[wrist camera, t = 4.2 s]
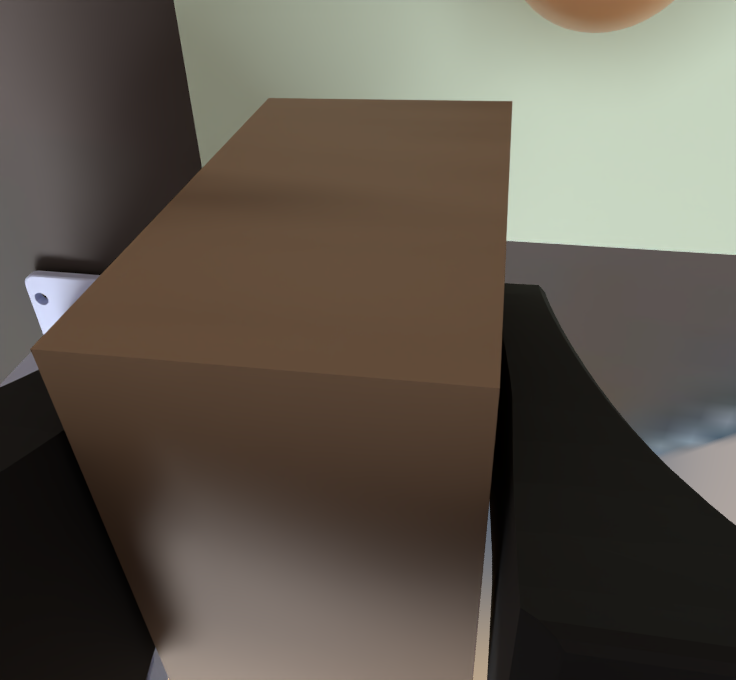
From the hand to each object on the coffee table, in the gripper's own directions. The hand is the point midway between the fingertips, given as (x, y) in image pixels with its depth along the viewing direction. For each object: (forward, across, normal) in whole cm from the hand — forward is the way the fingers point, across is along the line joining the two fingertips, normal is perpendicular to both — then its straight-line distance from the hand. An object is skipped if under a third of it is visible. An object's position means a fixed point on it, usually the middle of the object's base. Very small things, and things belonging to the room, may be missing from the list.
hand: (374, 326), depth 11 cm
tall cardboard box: (+2, 0, 0) cm, 2 cm away
